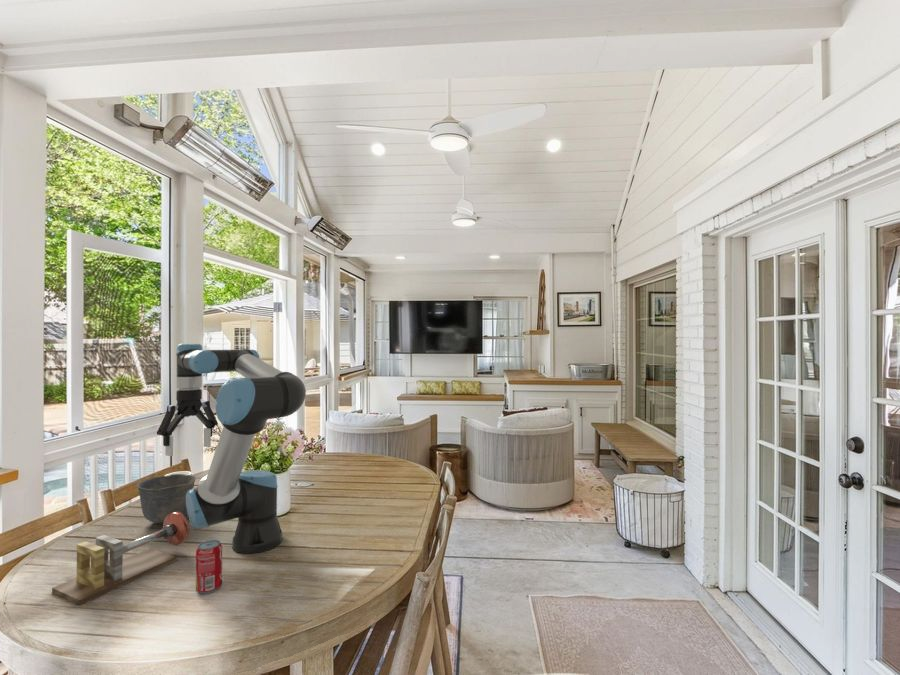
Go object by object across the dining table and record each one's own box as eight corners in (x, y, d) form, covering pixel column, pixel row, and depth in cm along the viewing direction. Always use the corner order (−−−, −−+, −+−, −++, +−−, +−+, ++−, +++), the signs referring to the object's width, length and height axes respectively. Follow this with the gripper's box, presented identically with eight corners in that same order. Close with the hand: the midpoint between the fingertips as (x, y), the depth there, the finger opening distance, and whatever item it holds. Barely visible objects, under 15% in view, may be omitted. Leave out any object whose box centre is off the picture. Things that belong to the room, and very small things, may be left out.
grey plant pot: (151, 536, 152) (151, 492, 152) (127, 524, 161) (127, 483, 161) (203, 518, 167) (204, 478, 167) (179, 509, 176) (179, 471, 176)
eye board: (176, 560, 135) (176, 523, 135) (79, 604, 112) (79, 560, 112) (149, 551, 141) (150, 516, 141) (52, 592, 118) (52, 549, 118)
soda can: (194, 597, 116) (194, 550, 116) (197, 585, 122) (197, 540, 122) (221, 591, 118) (221, 546, 119) (222, 580, 124) (223, 536, 124)
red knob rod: (188, 546, 140) (189, 514, 140) (129, 572, 124) (129, 536, 124) (168, 540, 144) (168, 509, 144) (108, 564, 129) (108, 529, 129)
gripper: (214, 385, 166) (214, 442, 166) (144, 392, 143) (144, 458, 143) (228, 385, 163) (228, 444, 162) (159, 393, 140) (158, 461, 140)
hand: (188, 451), depth 153 cm, fingers open, 13 cm apart
